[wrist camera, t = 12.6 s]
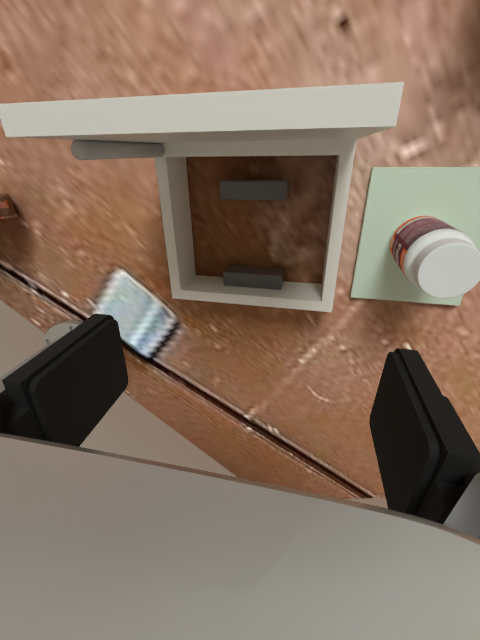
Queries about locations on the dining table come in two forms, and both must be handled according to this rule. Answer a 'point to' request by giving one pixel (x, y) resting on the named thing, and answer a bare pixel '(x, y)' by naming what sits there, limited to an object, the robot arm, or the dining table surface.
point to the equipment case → (224, 140)
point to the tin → (6, 207)
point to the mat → (402, 204)
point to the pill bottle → (435, 256)
